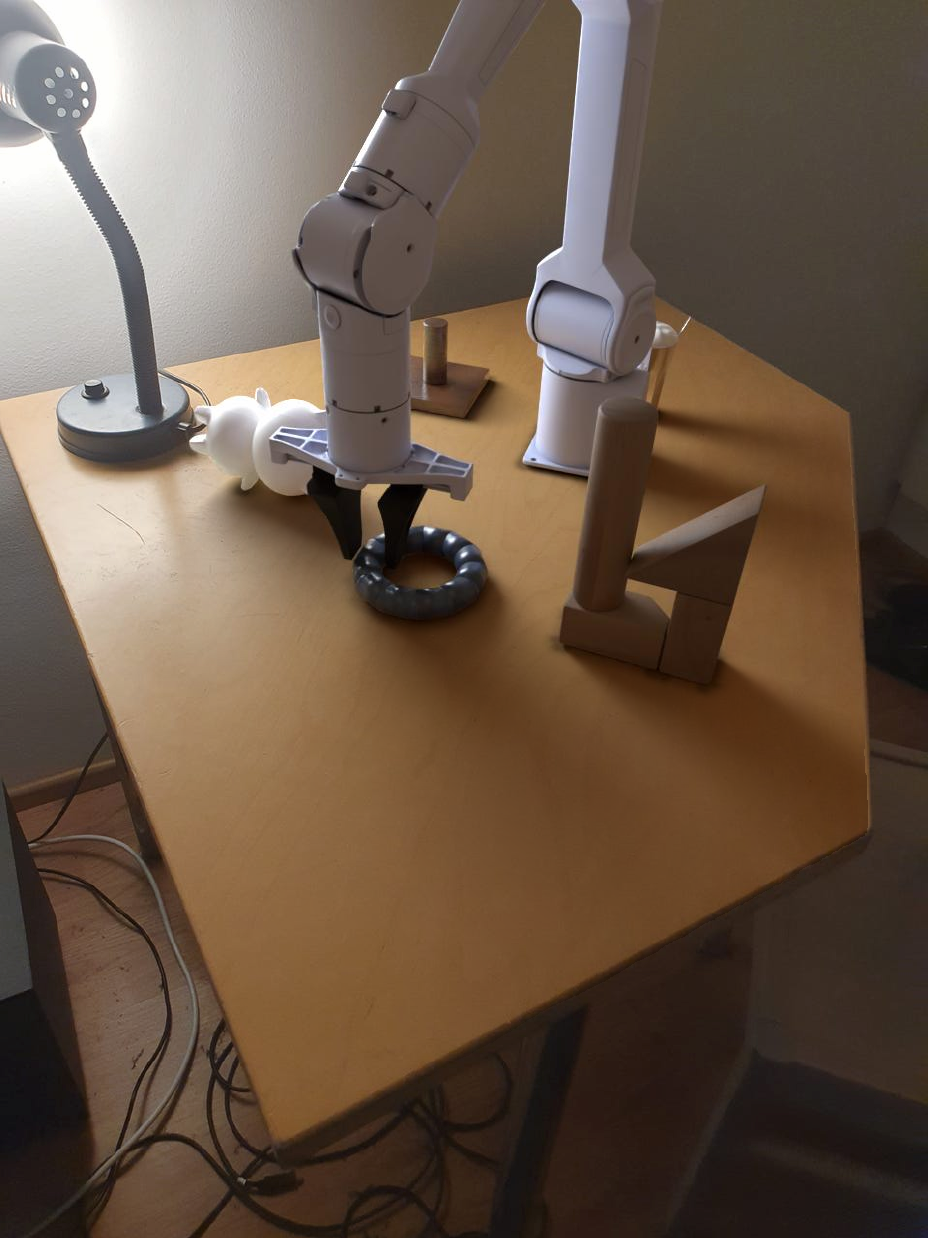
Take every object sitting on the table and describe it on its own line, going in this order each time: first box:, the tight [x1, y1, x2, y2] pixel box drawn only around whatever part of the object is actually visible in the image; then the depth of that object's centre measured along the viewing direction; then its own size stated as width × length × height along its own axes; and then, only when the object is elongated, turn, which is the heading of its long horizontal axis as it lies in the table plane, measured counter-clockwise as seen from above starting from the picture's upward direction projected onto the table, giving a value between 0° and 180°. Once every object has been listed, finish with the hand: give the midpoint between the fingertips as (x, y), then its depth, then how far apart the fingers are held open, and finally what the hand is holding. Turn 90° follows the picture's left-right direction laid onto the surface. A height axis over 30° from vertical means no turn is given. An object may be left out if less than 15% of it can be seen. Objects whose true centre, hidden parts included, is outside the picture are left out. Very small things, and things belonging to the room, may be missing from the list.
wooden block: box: [558, 397, 768, 685], centre depth 58 cm, size 4×11×18 cm, turn 68°
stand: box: [410, 317, 491, 419], centre depth 91 cm, size 9×9×7 cm
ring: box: [351, 524, 489, 621], centre depth 69 cm, size 10×10×2 cm
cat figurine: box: [188, 387, 327, 497], centre depth 78 cm, size 9×11×12 cm
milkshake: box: [637, 315, 691, 410], centre depth 88 cm, size 4×5×10 cm
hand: (373, 557), depth 69 cm, fingers open, 3 cm apart
